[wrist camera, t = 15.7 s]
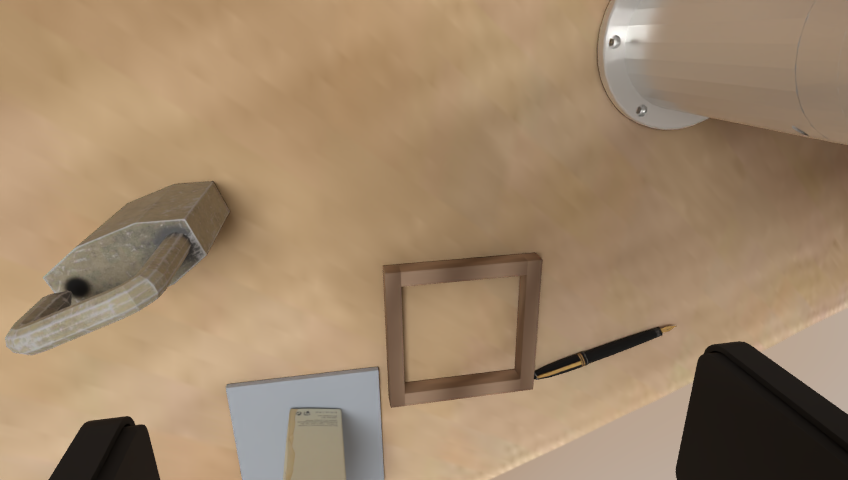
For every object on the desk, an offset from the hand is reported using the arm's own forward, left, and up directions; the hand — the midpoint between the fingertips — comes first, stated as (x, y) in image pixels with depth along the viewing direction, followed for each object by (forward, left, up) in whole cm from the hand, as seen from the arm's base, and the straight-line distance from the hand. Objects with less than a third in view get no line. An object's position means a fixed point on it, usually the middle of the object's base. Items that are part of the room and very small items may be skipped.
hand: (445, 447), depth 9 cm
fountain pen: (-21, +20, -31) cm, 42 cm away
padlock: (+13, +5, -31) cm, 34 cm away
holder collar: (-8, +16, -30) cm, 35 cm away
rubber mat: (+5, +25, -30) cm, 40 cm away
